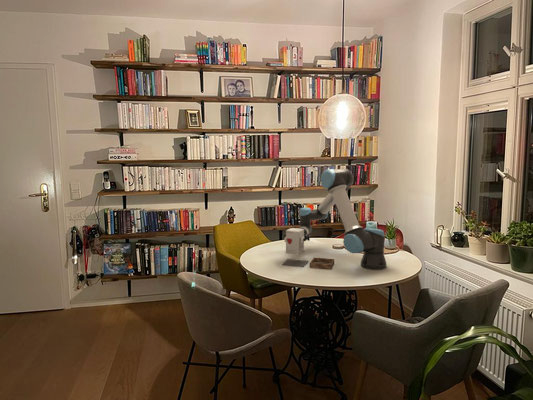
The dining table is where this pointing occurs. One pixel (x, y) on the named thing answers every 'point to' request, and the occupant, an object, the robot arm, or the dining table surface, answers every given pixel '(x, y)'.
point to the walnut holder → (320, 261)
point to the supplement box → (294, 241)
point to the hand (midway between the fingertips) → (293, 240)
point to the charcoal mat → (295, 262)
